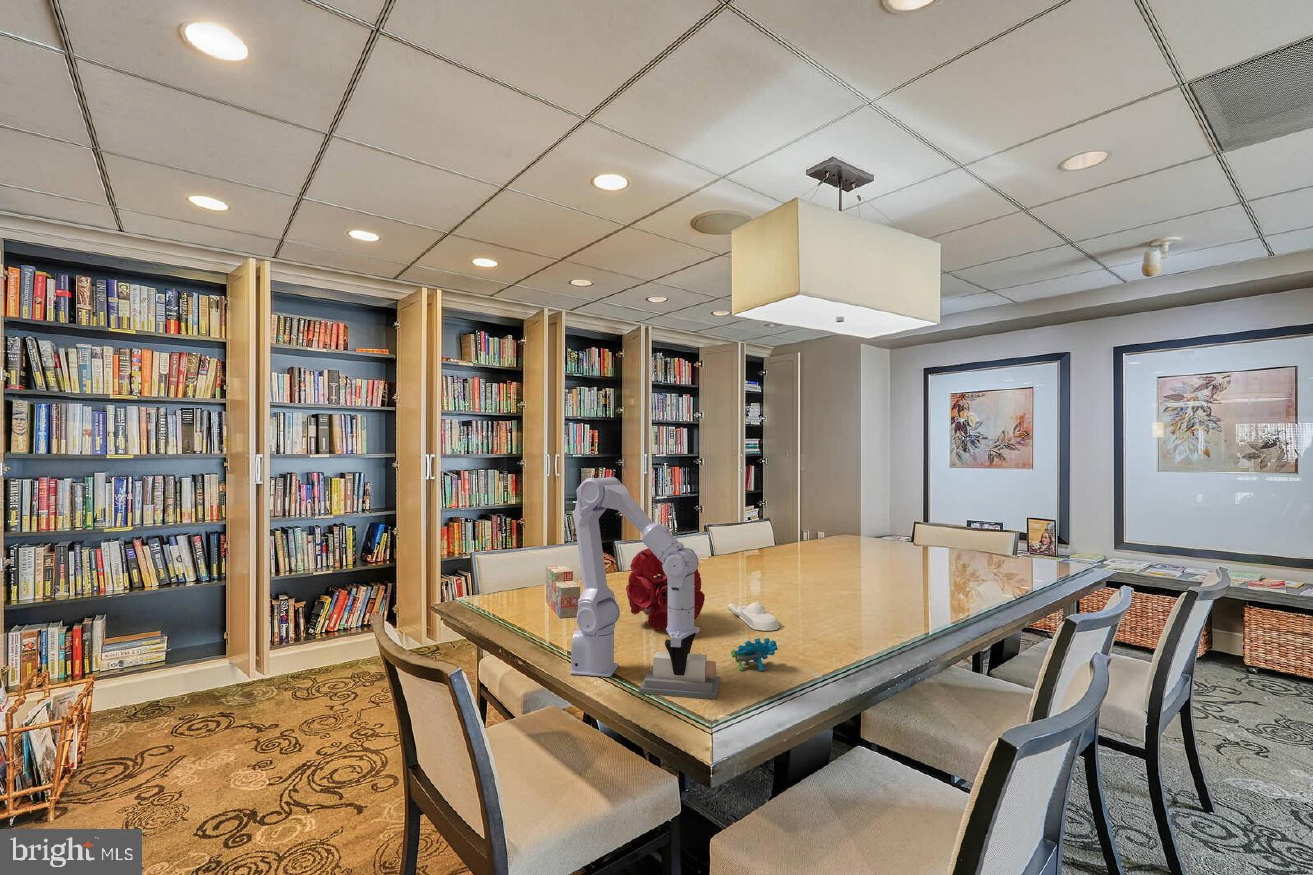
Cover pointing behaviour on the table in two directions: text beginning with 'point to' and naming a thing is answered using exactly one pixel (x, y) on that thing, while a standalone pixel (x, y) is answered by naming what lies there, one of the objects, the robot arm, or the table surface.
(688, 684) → the cradle
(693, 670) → the cream rectangular bar
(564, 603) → the stack of blocks
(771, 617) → the white domed paddle shape
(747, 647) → the blue brick toy animal
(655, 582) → the bouquet
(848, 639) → the table surface
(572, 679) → the table surface
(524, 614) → the table surface
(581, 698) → the table surface
